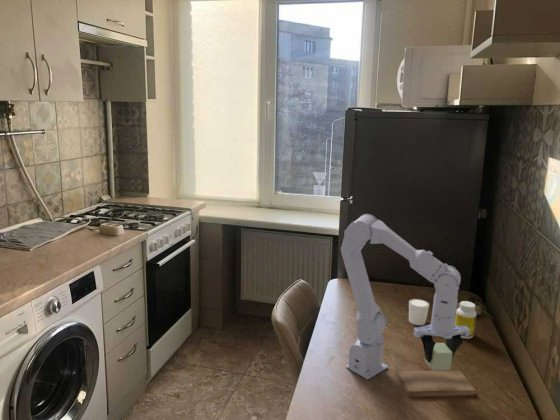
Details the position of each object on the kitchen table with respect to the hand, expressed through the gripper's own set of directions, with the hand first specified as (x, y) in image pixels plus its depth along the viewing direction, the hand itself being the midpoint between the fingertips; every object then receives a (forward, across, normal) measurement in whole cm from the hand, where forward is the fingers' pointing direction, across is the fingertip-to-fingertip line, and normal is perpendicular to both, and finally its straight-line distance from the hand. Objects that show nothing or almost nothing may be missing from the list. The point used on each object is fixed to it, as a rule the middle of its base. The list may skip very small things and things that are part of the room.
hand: (437, 360), depth 124 cm
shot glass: (+8, +10, +36) cm, 38 cm away
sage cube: (+2, 0, 0) cm, 2 cm away
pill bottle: (+8, +22, +26) cm, 35 cm away
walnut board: (+8, 0, 0) cm, 8 cm away
